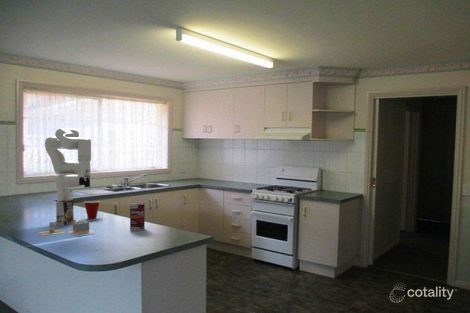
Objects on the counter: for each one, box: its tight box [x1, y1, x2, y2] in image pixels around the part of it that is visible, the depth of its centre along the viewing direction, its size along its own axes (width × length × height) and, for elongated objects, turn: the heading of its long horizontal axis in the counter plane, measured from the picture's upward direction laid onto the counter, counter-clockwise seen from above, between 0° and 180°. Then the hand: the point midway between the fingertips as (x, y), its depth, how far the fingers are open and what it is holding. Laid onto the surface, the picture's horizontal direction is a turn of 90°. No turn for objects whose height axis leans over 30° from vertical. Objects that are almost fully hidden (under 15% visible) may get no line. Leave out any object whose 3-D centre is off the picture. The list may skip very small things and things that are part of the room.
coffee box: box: [55, 199, 75, 226], centre depth 237 cm, size 9×6×16 cm
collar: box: [72, 220, 90, 232], centre depth 215 cm, size 7×7×4 cm
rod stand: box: [38, 221, 67, 237], centre depth 214 cm, size 12×12×7 cm
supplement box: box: [129, 202, 146, 232], centre depth 224 cm, size 9×5×16 cm, turn 105°
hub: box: [66, 219, 96, 238], centre depth 215 cm, size 12×12×8 cm
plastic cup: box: [83, 200, 101, 220], centre depth 261 cm, size 11×11×12 cm
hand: (84, 186), depth 228 cm, fingers open, 9 cm apart
